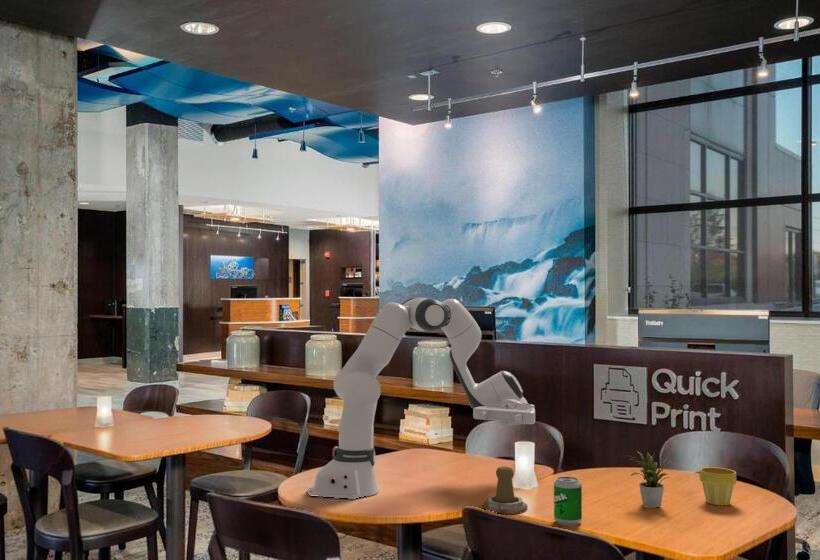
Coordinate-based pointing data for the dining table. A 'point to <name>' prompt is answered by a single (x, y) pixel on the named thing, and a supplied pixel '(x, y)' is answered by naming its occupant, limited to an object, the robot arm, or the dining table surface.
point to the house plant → (651, 482)
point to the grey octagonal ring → (505, 506)
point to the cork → (505, 485)
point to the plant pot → (717, 484)
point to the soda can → (567, 501)
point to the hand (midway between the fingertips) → (499, 417)
